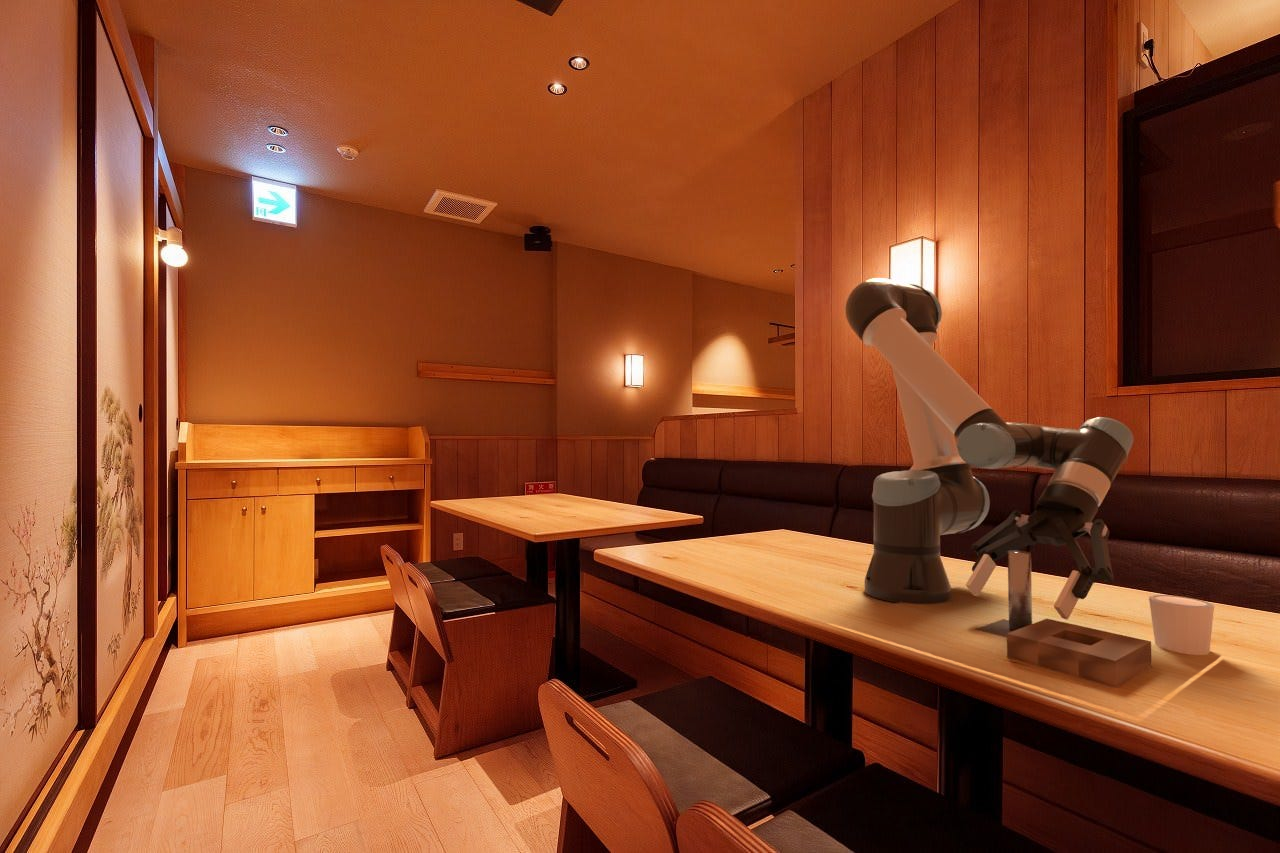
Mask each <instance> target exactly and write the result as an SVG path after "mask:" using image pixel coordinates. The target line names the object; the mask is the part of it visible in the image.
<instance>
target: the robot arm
mask: <svg viewBox="0 0 1280 853" xmlns="http://www.w3.org/2000/svg"><path fill="white" fill-rule="evenodd" d="M844 310H845V318H846V320H847V323H848V325H849V326H850V328H851V330H852V331H853V332H854V333H855V335H856V336H857V337H858V338H859V340H861V342H862V343H863V344H864V345H865V346H867V347H873V348H875V349H876V350H877V351H878V352H879V354H880V355H881V356H882V357H883V358H884V359H885V360H886V361H887V362H888V364H889V365H890V366H891V368H892V369H891V370H892V373H893V378H894V383H895V385H896V386H895V387H896V391H897V395H898V399H899V404H900V409H901V413H902V417H903V421H904V426H905V430H906V435H907V438H908V443H909V444H908V445H909V447H910V448H909V449H910V451H911V452H910V453H911V456H912V461H913V464H912V466H911V467H910V468H909V469H908V470H900V471H898V470H896V471H891V472H890V471H888V472H885V473H881V474H880V475H877V476H876V478H875V479H874V481H873V486H872V488H873V489H872V494H871V498H872V515H873V516H872V518H873V519H872V520H873V521H872V523H873V527H872V529H873V553H872V557H871V560H870V562H869V564H868V569H867V571H866V574H865V577H864V593H865V594H866V595H868V596H869V597H873V598H875V599H879V600H881V601H886V602H892V603H896V604H897V603H905V604H914V605H935V604H943V603H947V602H950V601H951V599H952V586H951V583H950V581H949V577H948V574H947V571H946V569H945V566H944V564H943V561H942V557H941V536H943V535H950V534H951V535H953V534H954V535H956V534H962V533H965V532H967V531H971V530H972V529H975V528H976V527H978V526H980V524H982V522H983V521H984V520H985V518H986V517H987V515H988V513H989V510H990V504H991V502H990V501H991V500H990V496H989V491H988V490H987V487H986V486H985V485H984V484H983V483H982V482H981V481H980V480H979V479H978V478H976V477H975V476H973V473H972V467H974V468H979V469H986V470H987V469H988V470H997V469H1002V468H1003V469H1004V468H1023V467H1032V468H1040V469H1047V470H1052V471H1054V472H1053V474H1052V476H1051V477H1050V479H1049V481H1048V483H1047V485H1046V486H1045V488H1044V490H1043V492H1042V493H1041V495H1040V497H1039V499H1038V500H1037V502H1036V507H1035V511H1034V512H1032V513H1031V514H1030V515H1028V514H1022V513H1021V511H1020V510H1019V509H1015V510H1013V511H1012V512H1011V513H1010V515H1009V516H1008V517H1007V518H1006V520H1004V521H1003V522H1001V523H999V525H997V526H995V528H993V529H991V530H990V531H989V532H988V533H987V534H985V535H983V536H982V537H980V539H979V538H978V540H977V541H976V542H974V543H972V545H971V549H972V550H973V551H974V552H975V554H976V555H977V556H978V557H977V559H976V560H975V562H974V563H973V565H972V567H971V571H972V573H971V575H970V577H969V578H968V580H967V581H966V583H965V586H966V588H967V589H968V590H969V591H970V592H971V594H972V595H973V597H974V596H975V597H979V596H980V594H981V593H982V591H983V589H984V588H985V586H986V584H987V582H988V581H989V578H990V577H991V576H992V573H993V572H994V570H995V569H996V567H997V564H996V563H995V562H996V561H998V560H1000V559H1002V558H1004V557H1006V556H1008V551H1011V550H1016V551H1020V549H1021V550H1022V549H1023V548H1024V547H1027V546H1034V545H1036V544H1038V543H1039V544H1042V545H1053V546H1055V547H1061V546H1063V545H1066V546H1067V548H1068V550H1069V552H1070V553H1071V555H1072V558H1073V559H1074V561H1075V563H1076V564H1077V567H1078V569H1079V571H1078V570H1075V569H1073V570H1072V571H1071V572H1070V575H1069V576H1068V578H1067V580H1066V582H1065V584H1064V586H1063V588H1062V589H1061V591H1060V593H1059V594H1058V597H1057V599H1056V601H1055V602H1054V604H1053V607H1054V609H1055V611H1056V612H1057V613H1058V614H1059V616H1060V617H1061V618H1062V619H1064V620H1069V618H1070V616H1071V614H1072V612H1073V611H1074V609H1075V607H1076V605H1077V603H1078V601H1079V600H1084V599H1085V598H1087V596H1088V594H1089V592H1090V591H1091V588H1092V587H1093V584H1094V583H1097V582H1098V581H1104V582H1105V583H1111V582H1113V581H1114V574H1113V568H1112V562H1111V558H1110V553H1109V552H1110V551H1109V546H1108V543H1107V542H1108V539H1109V537H1110V533H1111V532H1110V530H1109V528H1108V527H1107V525H1106V524H1105V522H1104V520H1103V519H1100V518H1097V519H1095V520H1094V517H1095V516H1096V514H1097V513H1098V510H1099V507H1100V506H1101V504H1102V503H1103V501H1104V499H1105V497H1106V495H1108V491H1109V490H1110V488H1111V486H1112V483H1113V482H1114V480H1115V478H1116V477H1117V475H1118V473H1119V471H1120V469H1121V468H1122V467H1123V465H1124V463H1125V462H1126V461H1127V460H1128V456H1129V453H1130V451H1131V448H1132V446H1133V444H1134V435H1133V433H1132V430H1130V428H1129V427H1128V426H1127V425H1125V424H1124V423H1122V422H1120V421H1118V420H1116V419H1114V418H1110V417H1102V416H1098V417H1095V418H1089V419H1087V420H1086V421H1085V422H1083V424H1082V425H1081V426H1079V428H1070V427H1068V428H1067V427H1062V428H1061V427H1054V426H1046V425H1039V424H1030V423H1025V422H1006V421H1005V420H1004V419H1003V418H1001V416H1000V415H999V414H998V413H997V412H996V411H995V410H994V409H993V408H992V407H991V406H990V404H988V403H987V402H986V401H985V400H984V399H983V398H982V396H980V395H979V394H978V393H977V392H976V390H975V389H974V388H973V387H972V386H971V385H970V384H969V382H967V381H966V380H965V379H964V378H963V377H962V376H961V375H960V374H959V373H958V372H957V371H956V370H955V369H954V368H953V367H952V366H951V365H950V364H949V363H948V362H947V361H946V359H944V358H943V357H942V356H941V354H939V353H938V351H937V350H935V348H933V345H934V344H935V342H936V341H937V340H938V337H939V336H938V332H937V330H938V328H939V323H941V320H942V316H943V315H942V312H943V311H942V306H941V303H940V301H939V299H938V297H937V296H936V295H935V294H934V293H933V292H932V291H930V290H929V289H926V288H924V287H923V286H920V285H918V284H912V283H908V284H907V283H903V282H899V281H894V280H893V279H892V280H891V279H888V278H882V277H876V278H875V277H874V278H870V279H866V280H864V281H862V282H860V283H858V285H856V286H855V288H853V289H852V290H851V292H850V293H849V295H848V298H847V300H846V303H845V309H844ZM955 438H956V439H957V441H956V439H955ZM1029 532H1031V534H1032V536H1030V535H1029ZM1086 533H1088V534H1089V536H1090V541H1091V546H1092V552H1093V560H1094V564H1095V565H1094V566H1095V567H1092V566H1091V564H1090V562H1089V560H1088V559H1087V557H1086V555H1085V553H1084V552H1083V550H1082V548H1081V546H1080V545H1079V543H1078V541H1077V539H1079V538H1080V537H1083V535H1085V534H1086Z"/></svg>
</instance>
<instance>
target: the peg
mask: <svg viewBox="0 0 1280 853" xmlns="http://www.w3.org/2000/svg"><path fill="white" fill-rule="evenodd" d="M1007 583H1008V584H1007V585H1008V586H1007V590H1008V591H1007V592H1008V593H1007V594H1008V620H1009V631H1011V632H1012V631H1015V630H1018V629H1020V628H1023V627H1026V626H1028V625H1031V624H1033V604H1032V603H1033V599H1032V598H1033V597H1032V596H1033V595H1032V594H1033V593H1032V587H1033V586H1032V552H1030V551H1024V550H1011V551H1008V555H1007Z"/></svg>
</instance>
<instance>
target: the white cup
mask: <svg viewBox="0 0 1280 853" xmlns="http://www.w3.org/2000/svg"><path fill="white" fill-rule="evenodd" d="M1148 600H1149V607H1150V615H1151V624H1152V629H1153V638H1154V644H1155V646H1157V647H1159V648H1161V649H1163V650H1166V651H1170V652H1174V653H1179V654H1180V653H1181V654H1185V655H1192V656H1193V655H1194V656H1207V655H1209V654H1210V651H1211V642H1212V641H1211V640H1212V632H1213V631H1212V630H1213V623H1214V622H1213V620H1214V610H1215V605H1214V604H1213V603H1211V602H1208V601H1205V600H1201V599H1198V598H1192V597H1188V596H1179V595H1168V594H1153V595H1149V596H1148Z"/></svg>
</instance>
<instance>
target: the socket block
mask: <svg viewBox="0 0 1280 853" xmlns="http://www.w3.org/2000/svg"><path fill="white" fill-rule="evenodd" d="M1006 656H1007V658H1008V659H1012V660H1016V661H1019V662H1023V663H1027V664H1029V665H1033V666H1038V667H1039V668H1040V667H1041V668H1044V669H1048V670H1052V671H1054V672H1058V673H1061V674H1065V675H1069V676H1072V677H1076V678H1080V679H1083V680H1086V681H1091V682H1093V683H1098V684H1102V685H1105V686H1108V687H1111V688H1118V687H1120V686H1121V685H1123V684H1124V683H1127V682H1128V681H1130V680H1131V679H1133V678H1135V677H1136V676H1138V675H1139V674H1141V673H1143V672H1144V671H1146V670H1147V669H1149V668H1151V667H1152V665H1153V664H1152V641H1150V640H1147V639H1146V640H1145V639H1143V638H1142V639H1141V638H1137V637H1132V636H1129V635H1123V634H1119V633H1115V632H1110V631H1105V630H1101V629H1097V628H1091V627H1088V626H1082V625H1078V624H1072V623H1070V622H1064V621H1059V620H1055V619H1051V618H1044V619H1042V620H1039V621H1037V622H1034V623H1032V624H1031V625H1028V626H1026V627H1023V628H1020V629H1018V630H1015V631H1012V632H1010V633H1007V637H1006Z"/></svg>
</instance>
